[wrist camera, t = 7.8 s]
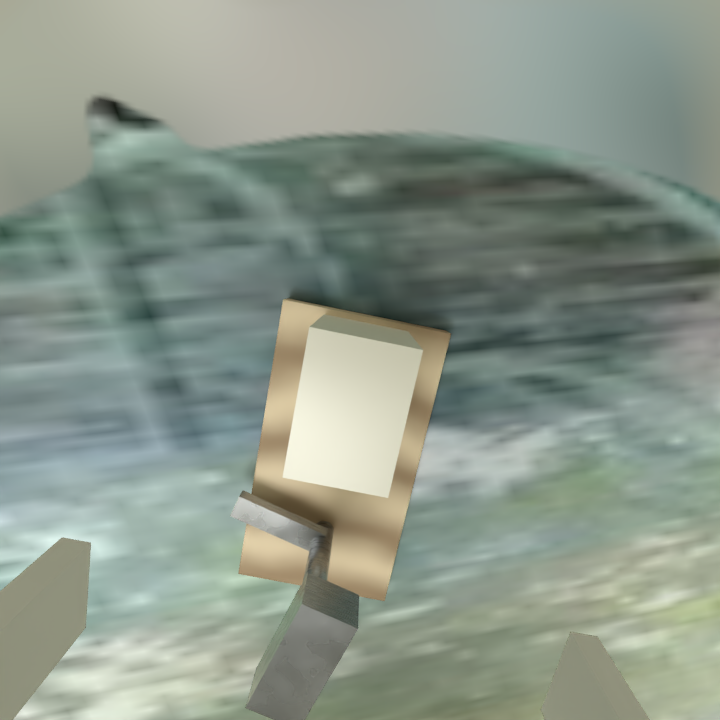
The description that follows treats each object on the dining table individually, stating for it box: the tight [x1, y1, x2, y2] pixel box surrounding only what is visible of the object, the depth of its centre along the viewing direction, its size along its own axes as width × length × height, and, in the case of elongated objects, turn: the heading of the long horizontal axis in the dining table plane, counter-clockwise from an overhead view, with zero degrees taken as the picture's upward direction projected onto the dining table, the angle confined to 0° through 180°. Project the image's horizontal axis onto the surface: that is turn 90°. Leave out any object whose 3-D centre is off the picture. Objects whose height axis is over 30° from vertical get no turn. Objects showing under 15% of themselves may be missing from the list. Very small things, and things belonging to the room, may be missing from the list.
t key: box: [230, 491, 359, 720], centre depth 30 cm, size 10×8×13 cm
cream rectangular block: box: [282, 314, 423, 498], centre depth 30 cm, size 13×7×9 cm, turn 169°
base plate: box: [238, 298, 451, 601], centre depth 37 cm, size 26×14×2 cm, turn 169°
